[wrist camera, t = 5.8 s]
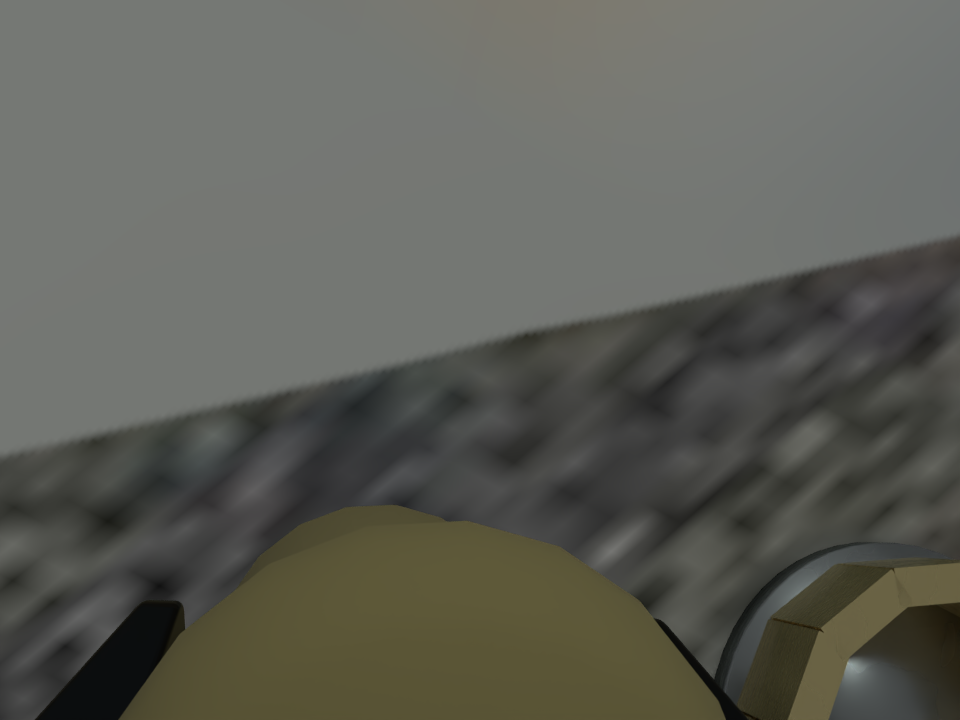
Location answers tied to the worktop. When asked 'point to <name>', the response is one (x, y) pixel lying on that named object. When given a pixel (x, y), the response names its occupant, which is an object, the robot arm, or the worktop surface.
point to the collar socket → (850, 638)
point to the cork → (422, 634)
